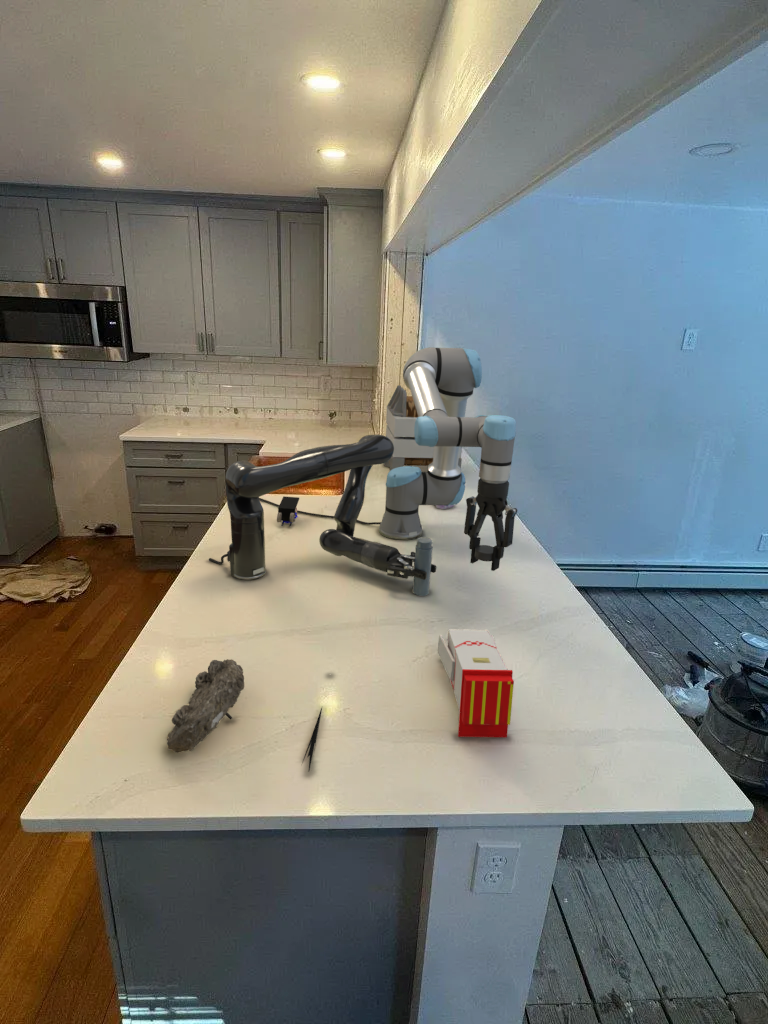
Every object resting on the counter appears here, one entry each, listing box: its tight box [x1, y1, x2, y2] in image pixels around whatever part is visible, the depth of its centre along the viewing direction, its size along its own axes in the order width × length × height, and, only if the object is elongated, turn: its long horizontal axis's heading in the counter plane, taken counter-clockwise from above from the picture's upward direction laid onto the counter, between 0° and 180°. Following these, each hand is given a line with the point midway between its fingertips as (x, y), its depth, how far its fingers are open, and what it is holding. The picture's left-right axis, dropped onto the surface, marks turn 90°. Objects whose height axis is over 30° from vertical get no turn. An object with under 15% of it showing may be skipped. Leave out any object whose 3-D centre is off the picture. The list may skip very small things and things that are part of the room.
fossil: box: [166, 658, 245, 754], centre depth 106 cm, size 22×10×15 cm
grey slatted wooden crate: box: [382, 384, 463, 471], centre depth 268 cm, size 34×33×41 cm
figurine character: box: [276, 495, 300, 527], centre depth 205 cm, size 7×8×15 cm
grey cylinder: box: [412, 536, 434, 597], centre depth 157 cm, size 5×5×16 cm
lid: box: [474, 544, 494, 562], centre depth 146 cm, size 6×6×2 cm
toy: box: [437, 628, 515, 738], centre depth 117 cm, size 12×13×30 cm
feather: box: [301, 673, 332, 771], centre depth 108 cm, size 2×28×2 cm
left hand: (430, 572), depth 156 cm, fingers closed on grey cylinder, 4 cm apart
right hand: (484, 565), depth 147 cm, fingers closed on lid, 5 cm apart
